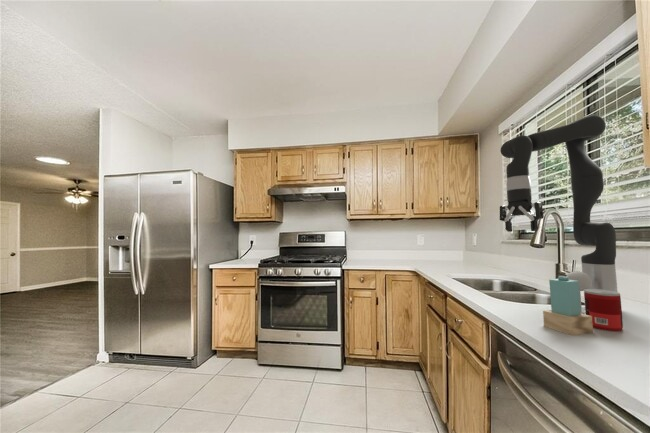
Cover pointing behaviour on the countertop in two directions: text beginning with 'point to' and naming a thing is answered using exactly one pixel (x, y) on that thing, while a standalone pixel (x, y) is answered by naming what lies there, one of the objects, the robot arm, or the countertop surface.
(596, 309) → the canned food
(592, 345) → the countertop surface
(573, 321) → the wooden block
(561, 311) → the teal brick
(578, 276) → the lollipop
